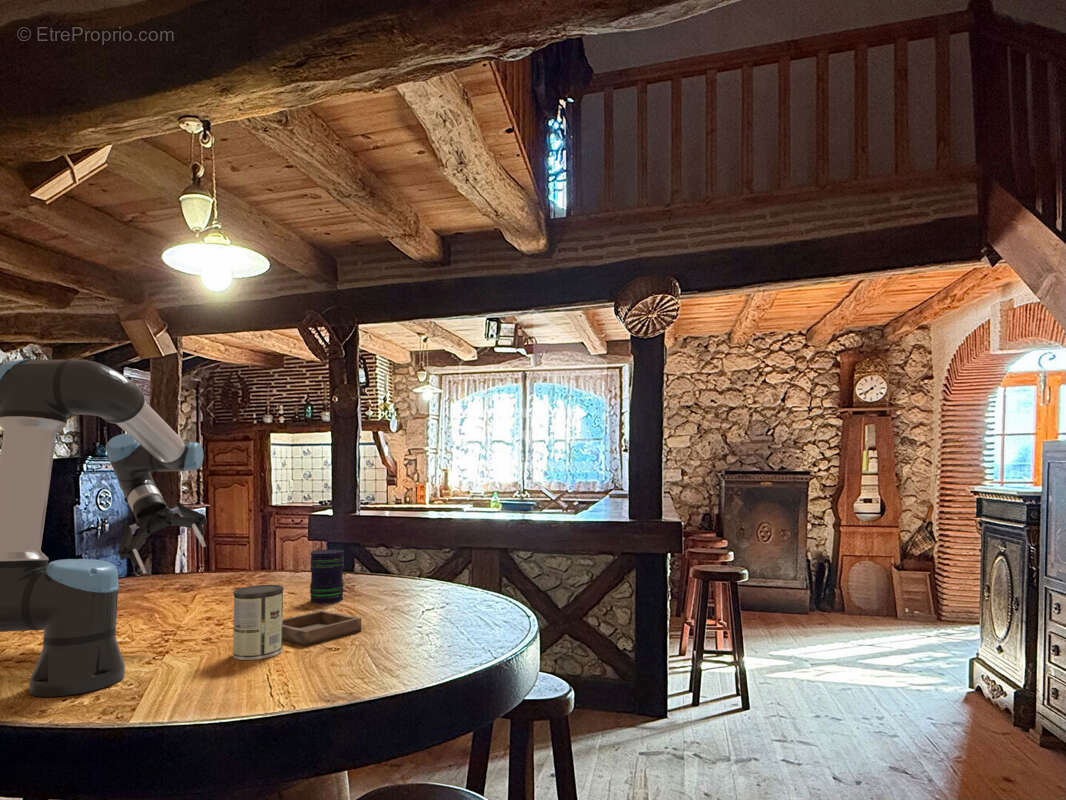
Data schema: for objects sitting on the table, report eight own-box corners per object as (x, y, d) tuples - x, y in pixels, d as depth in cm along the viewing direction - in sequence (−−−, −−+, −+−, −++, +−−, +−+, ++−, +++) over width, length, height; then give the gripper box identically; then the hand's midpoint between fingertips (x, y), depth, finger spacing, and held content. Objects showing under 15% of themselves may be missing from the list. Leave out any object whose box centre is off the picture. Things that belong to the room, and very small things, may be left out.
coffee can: (243, 647, 149) (244, 585, 150) (289, 646, 149) (290, 583, 150) (223, 661, 138) (225, 593, 140) (272, 660, 139) (273, 592, 140)
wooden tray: (361, 631, 161) (361, 618, 162) (305, 646, 149) (305, 632, 149) (322, 622, 171) (322, 610, 171) (266, 636, 158) (266, 623, 158)
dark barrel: (315, 605, 192) (316, 554, 194) (305, 600, 200) (306, 551, 201) (348, 601, 198) (348, 551, 199) (337, 596, 206) (337, 548, 207)
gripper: (201, 495, 179) (229, 542, 167) (99, 537, 165) (121, 591, 153) (194, 475, 175) (223, 522, 162) (89, 517, 161) (111, 571, 148)
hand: (174, 556), depth 157 cm, fingers open, 13 cm apart
